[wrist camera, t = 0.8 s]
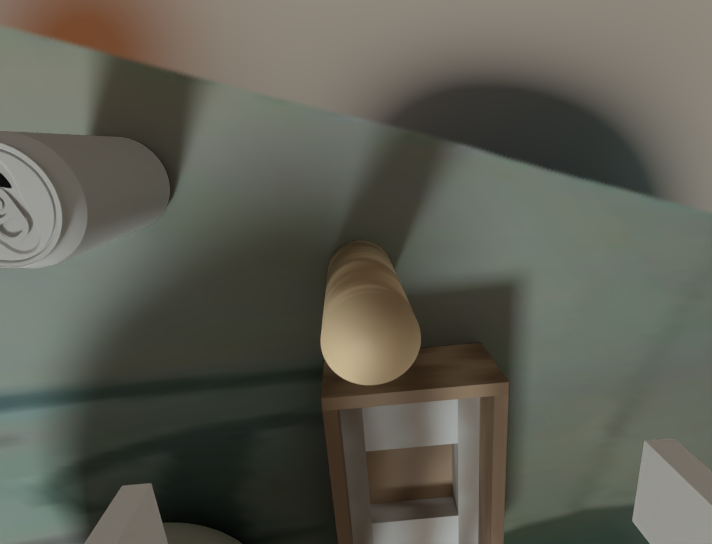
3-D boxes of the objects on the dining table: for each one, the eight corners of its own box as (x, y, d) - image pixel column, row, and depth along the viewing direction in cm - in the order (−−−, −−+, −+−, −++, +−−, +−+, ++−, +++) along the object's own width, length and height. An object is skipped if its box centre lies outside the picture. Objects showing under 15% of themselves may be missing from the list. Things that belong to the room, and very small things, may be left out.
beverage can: (136, 119, 28) (-6, 98, 17) (192, 200, 30) (99, 232, 18) (63, 167, 29) (-121, 178, 17) (122, 243, 30) (-10, 301, 19)
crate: (346, 556, 40) (347, 624, 34) (324, 356, 34) (320, 398, 28) (478, 544, 40) (501, 610, 34) (480, 342, 34) (508, 382, 28)
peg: (331, 304, 32) (325, 389, 21) (324, 243, 31) (315, 298, 20) (393, 299, 32) (422, 380, 21) (390, 237, 31) (419, 289, 20)
